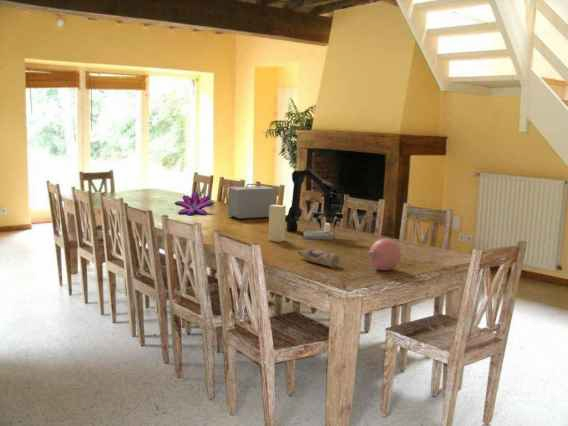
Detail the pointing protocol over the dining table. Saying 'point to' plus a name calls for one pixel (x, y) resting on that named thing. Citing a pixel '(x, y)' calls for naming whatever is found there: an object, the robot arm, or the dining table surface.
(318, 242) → the dining table surface
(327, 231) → the fader tab
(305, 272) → the dining table surface
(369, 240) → the dining table surface
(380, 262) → the pink round piece
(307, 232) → the console
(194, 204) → the decorative flower
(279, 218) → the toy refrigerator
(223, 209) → the dining table surface
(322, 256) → the decorative bottle
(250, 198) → the vintage electronic device
